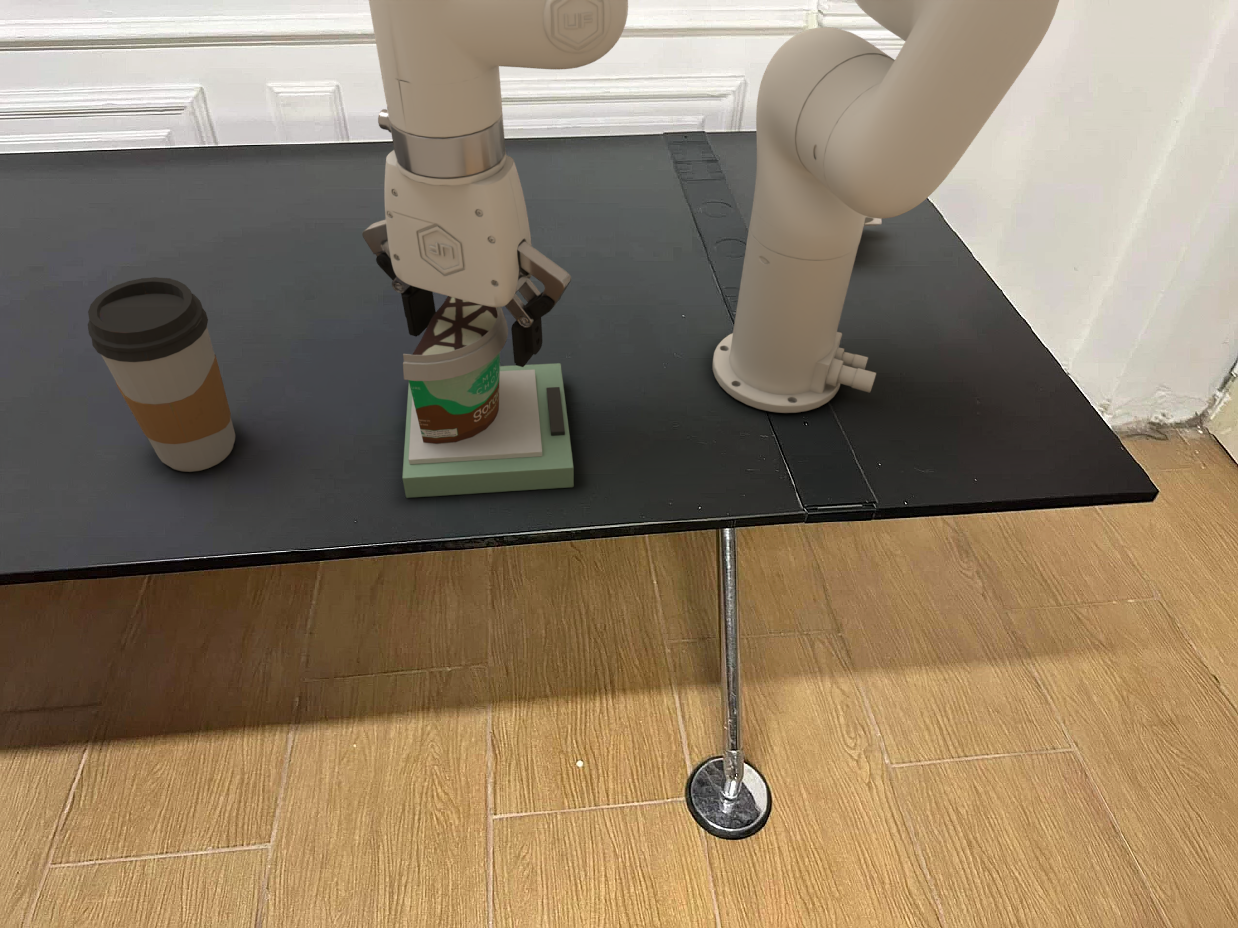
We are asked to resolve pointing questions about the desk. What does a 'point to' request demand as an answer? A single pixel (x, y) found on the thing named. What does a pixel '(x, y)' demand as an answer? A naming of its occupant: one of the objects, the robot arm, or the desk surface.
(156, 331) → the coffee cup
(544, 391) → the kitchen scale
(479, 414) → the food container
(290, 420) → the desk surface
